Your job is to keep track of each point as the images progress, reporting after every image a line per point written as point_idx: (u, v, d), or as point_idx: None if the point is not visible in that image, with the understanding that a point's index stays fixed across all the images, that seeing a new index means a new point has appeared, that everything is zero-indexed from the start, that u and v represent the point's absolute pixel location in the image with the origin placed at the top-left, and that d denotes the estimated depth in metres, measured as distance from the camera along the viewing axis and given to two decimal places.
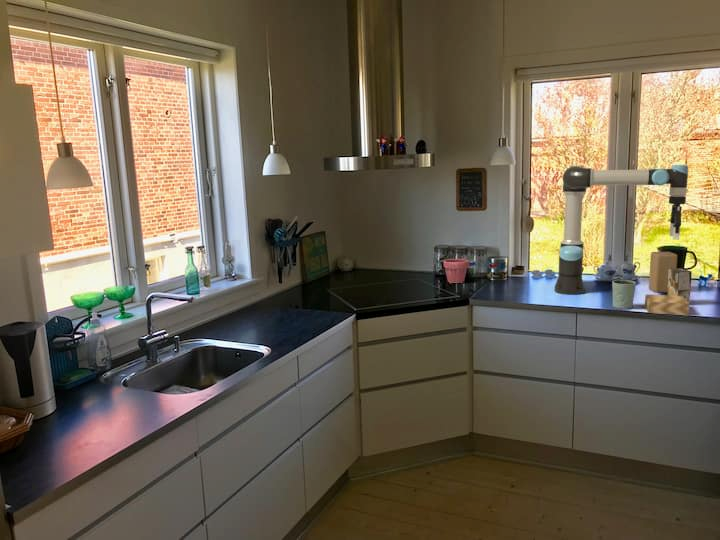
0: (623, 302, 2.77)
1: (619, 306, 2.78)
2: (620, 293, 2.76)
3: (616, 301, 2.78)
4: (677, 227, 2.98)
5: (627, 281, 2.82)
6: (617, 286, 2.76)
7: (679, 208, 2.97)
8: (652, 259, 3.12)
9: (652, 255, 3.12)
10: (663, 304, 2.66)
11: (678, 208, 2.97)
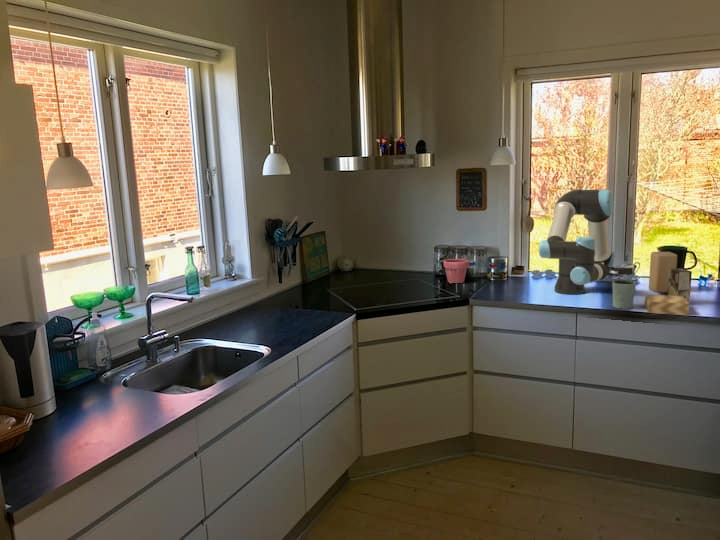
0: (623, 302, 2.77)
1: (619, 306, 2.78)
2: (620, 293, 2.76)
3: (616, 301, 2.78)
4: None
5: (627, 281, 2.82)
6: (617, 286, 2.76)
7: None
8: (652, 259, 3.12)
9: (652, 255, 3.12)
10: (663, 304, 2.66)
11: None
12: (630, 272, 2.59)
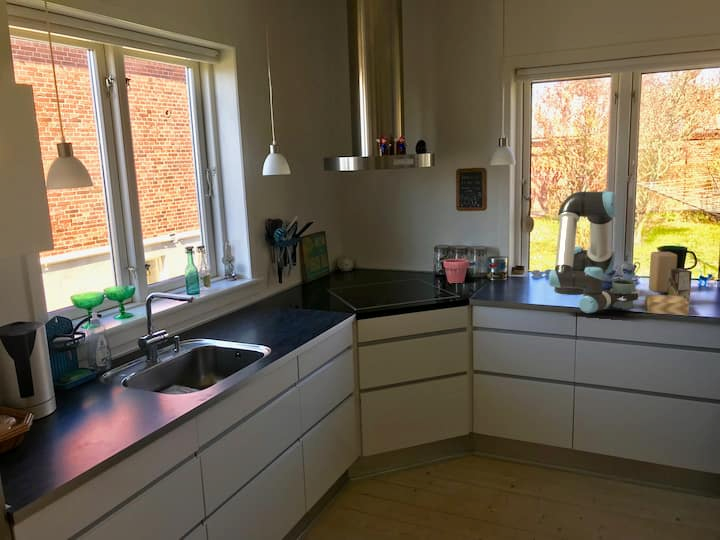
0: None
1: (619, 306, 2.78)
2: (620, 293, 2.76)
3: None
4: None
5: (627, 281, 2.82)
6: (617, 286, 2.76)
7: None
8: (652, 259, 3.12)
9: (652, 255, 3.12)
10: (663, 304, 2.66)
11: None
12: (635, 298, 2.71)
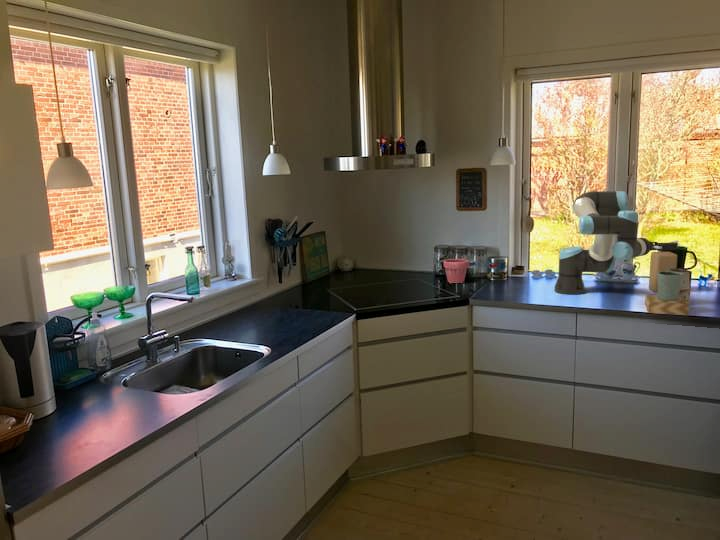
0: (669, 294, 2.68)
1: (665, 298, 2.69)
2: (666, 284, 2.68)
3: (662, 293, 2.70)
4: None
5: (673, 272, 2.74)
6: (663, 277, 2.68)
7: None
8: (652, 259, 3.12)
9: (652, 255, 3.12)
10: (663, 304, 2.66)
11: None
12: (674, 247, 2.49)
